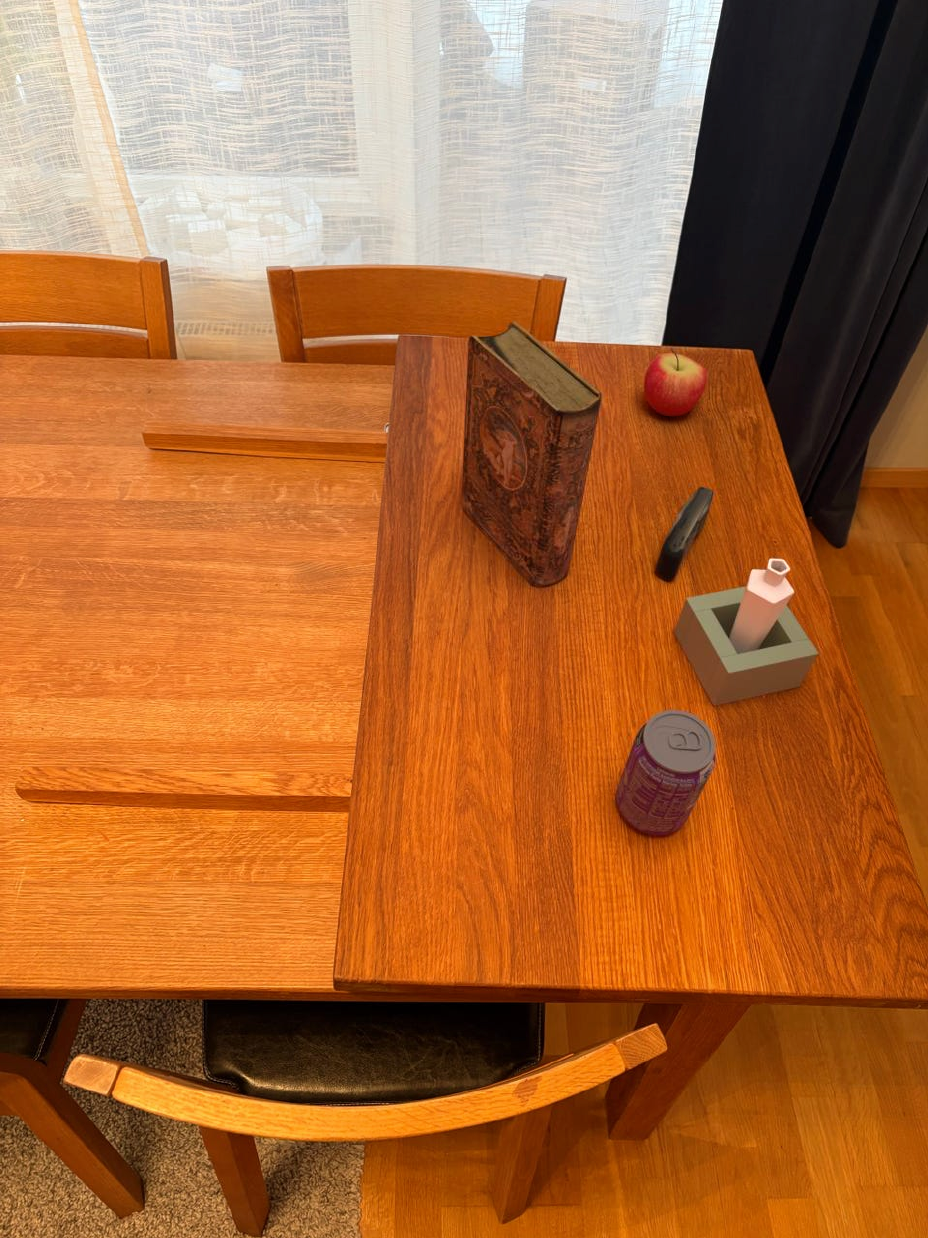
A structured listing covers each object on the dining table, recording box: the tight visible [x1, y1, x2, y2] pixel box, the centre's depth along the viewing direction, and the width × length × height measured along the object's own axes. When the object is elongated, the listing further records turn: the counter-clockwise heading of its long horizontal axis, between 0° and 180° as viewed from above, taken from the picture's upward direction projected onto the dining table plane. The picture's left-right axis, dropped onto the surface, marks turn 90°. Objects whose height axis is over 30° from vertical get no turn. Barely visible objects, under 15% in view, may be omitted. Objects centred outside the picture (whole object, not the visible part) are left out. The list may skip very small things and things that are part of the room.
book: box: [461, 320, 603, 589], centre depth 95 cm, size 16×6×25 cm, turn 33°
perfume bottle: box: [728, 558, 795, 654], centre depth 88 cm, size 5×4×15 cm
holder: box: [673, 585, 820, 707], centre depth 92 cm, size 10×10×6 cm
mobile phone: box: [655, 486, 714, 582], centre depth 103 cm, size 5×3×15 cm
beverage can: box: [615, 709, 717, 836], centre depth 78 cm, size 7×7×12 cm
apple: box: [643, 347, 708, 417], centre depth 118 cm, size 8×8×10 cm
